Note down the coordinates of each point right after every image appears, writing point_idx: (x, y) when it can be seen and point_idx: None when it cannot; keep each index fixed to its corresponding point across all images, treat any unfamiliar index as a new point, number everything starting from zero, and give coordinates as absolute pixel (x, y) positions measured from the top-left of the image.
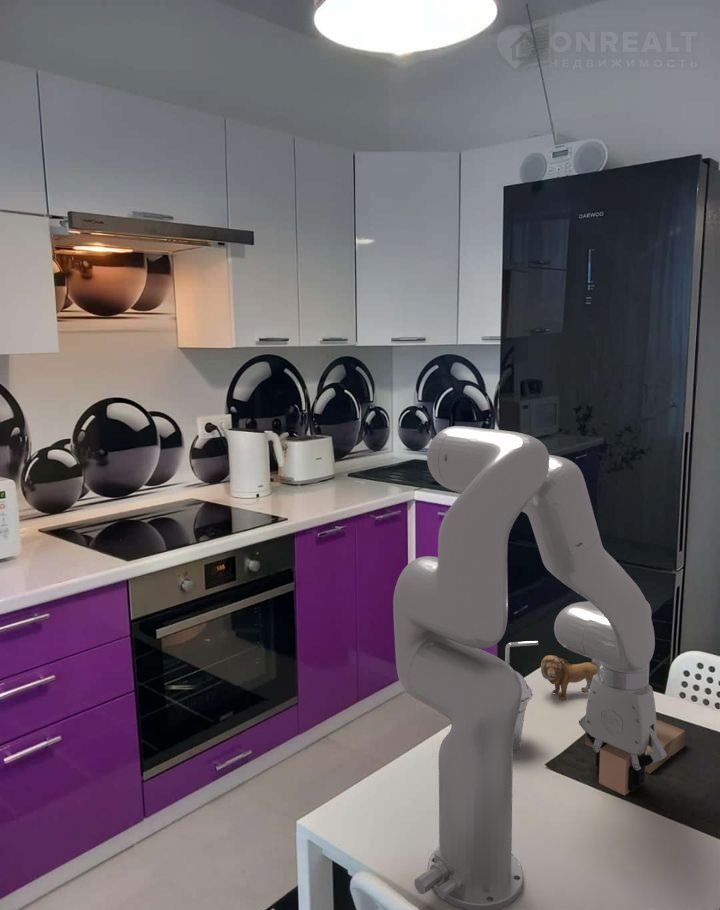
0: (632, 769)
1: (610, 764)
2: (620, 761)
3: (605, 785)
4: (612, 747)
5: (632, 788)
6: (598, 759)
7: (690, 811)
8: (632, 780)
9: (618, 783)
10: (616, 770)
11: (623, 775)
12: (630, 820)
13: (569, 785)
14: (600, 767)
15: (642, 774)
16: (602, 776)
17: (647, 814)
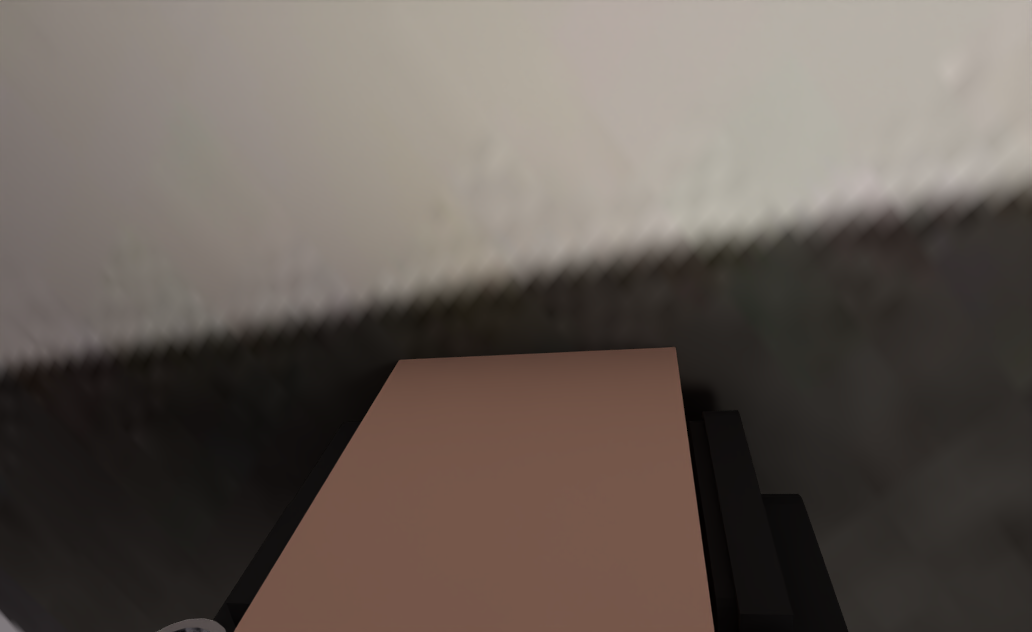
0: (229, 602)
1: (519, 534)
2: (324, 626)
3: (601, 356)
4: None
5: (336, 445)
6: (750, 544)
7: (39, 530)
8: (296, 498)
9: (443, 408)
10: (437, 501)
11: (346, 485)
12: (99, 82)
13: (898, 54)
14: (676, 458)
15: None
16: (639, 397)
17: (115, 282)
